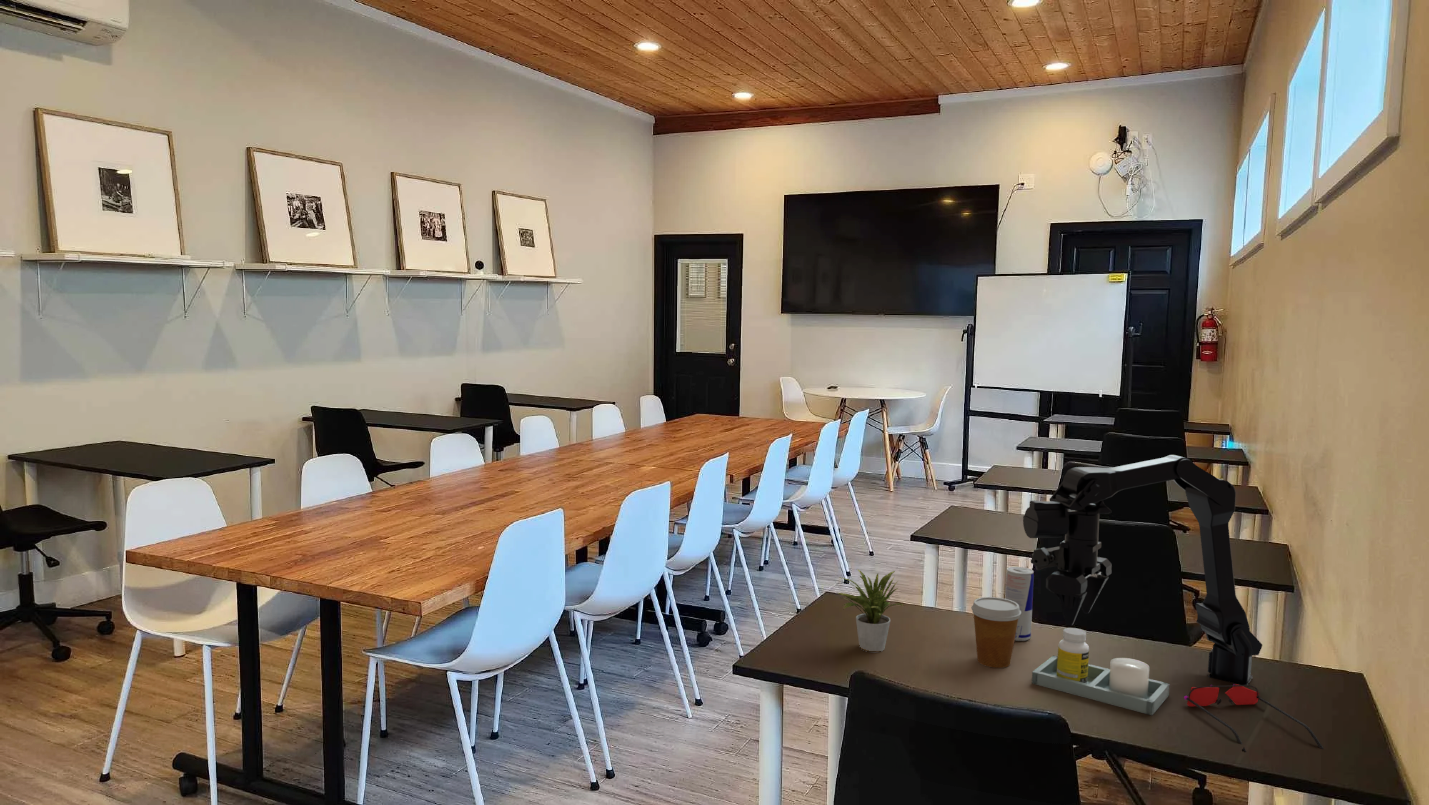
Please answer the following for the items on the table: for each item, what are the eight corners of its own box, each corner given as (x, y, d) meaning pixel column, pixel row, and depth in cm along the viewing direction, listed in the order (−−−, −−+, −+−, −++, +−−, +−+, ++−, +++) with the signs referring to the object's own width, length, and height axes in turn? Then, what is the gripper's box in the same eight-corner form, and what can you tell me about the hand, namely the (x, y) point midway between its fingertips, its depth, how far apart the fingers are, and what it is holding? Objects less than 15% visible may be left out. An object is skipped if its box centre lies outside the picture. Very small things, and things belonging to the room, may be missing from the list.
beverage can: (1032, 643, 198) (1035, 573, 196) (1004, 641, 199) (1007, 572, 197) (1029, 634, 203) (1032, 566, 202) (1002, 632, 204) (1005, 565, 203)
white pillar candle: (1151, 696, 169) (1153, 663, 168) (1141, 707, 164) (1143, 674, 164) (1114, 686, 173) (1116, 655, 173) (1103, 697, 168) (1105, 665, 168)
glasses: (1254, 708, 167) (1256, 681, 167) (1324, 751, 151) (1326, 721, 151) (1181, 711, 166) (1183, 683, 165) (1243, 754, 150) (1245, 724, 149)
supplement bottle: (1084, 690, 171) (1086, 638, 170) (1053, 683, 174) (1055, 632, 173) (1089, 680, 176) (1092, 629, 175) (1059, 674, 179) (1062, 624, 178)
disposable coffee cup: (966, 666, 184) (968, 607, 183) (972, 650, 193) (974, 594, 192) (1016, 674, 181) (1019, 613, 179) (1020, 657, 189) (1023, 600, 188)
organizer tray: (1168, 699, 169) (1169, 683, 169) (1151, 719, 161) (1152, 702, 161) (1052, 670, 183) (1053, 655, 182) (1031, 687, 174) (1032, 671, 174)
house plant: (858, 629, 205) (860, 556, 203) (917, 643, 197) (920, 567, 195) (826, 647, 193) (828, 570, 192) (887, 663, 185) (890, 582, 184)
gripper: (1055, 521, 185) (1052, 598, 186) (1019, 539, 171) (1016, 622, 172) (1114, 530, 178) (1110, 610, 179) (1081, 549, 164) (1077, 636, 165)
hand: (1077, 619), depth 174 cm, fingers open, 9 cm apart
